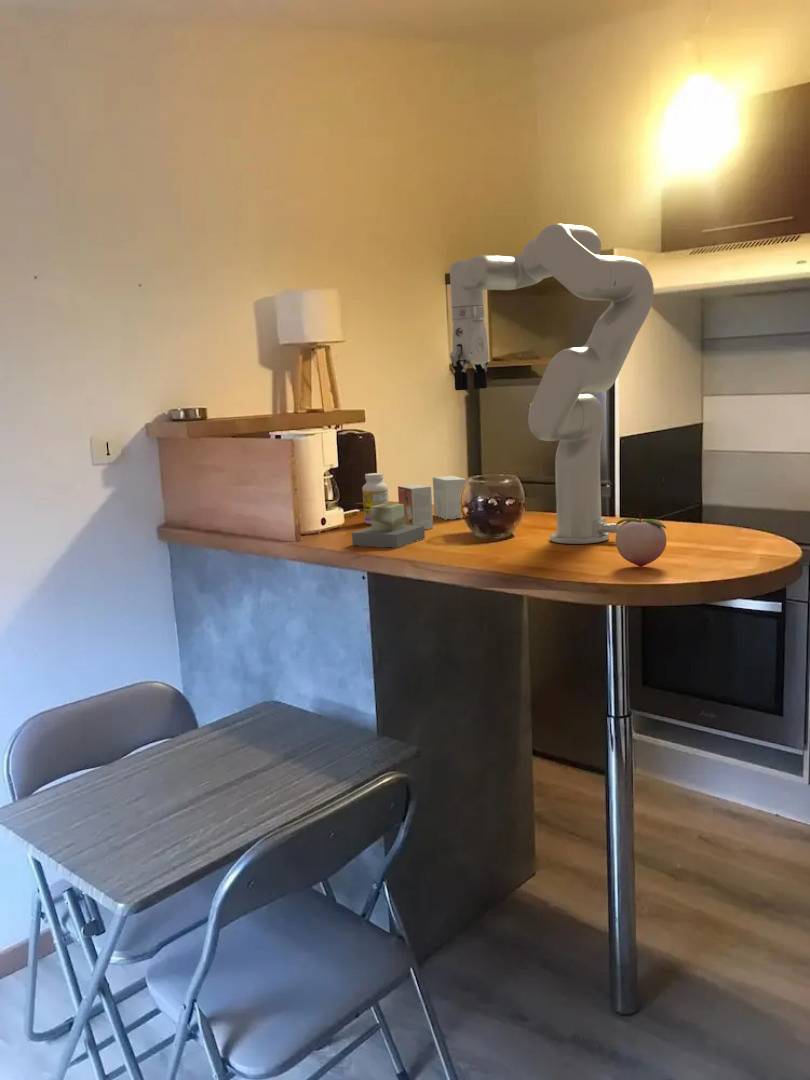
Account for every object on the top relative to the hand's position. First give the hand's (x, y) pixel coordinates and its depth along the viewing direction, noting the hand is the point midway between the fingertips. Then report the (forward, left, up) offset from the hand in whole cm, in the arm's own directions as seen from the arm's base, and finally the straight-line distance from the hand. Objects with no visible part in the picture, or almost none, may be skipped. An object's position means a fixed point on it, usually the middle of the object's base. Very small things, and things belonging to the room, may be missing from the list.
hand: (471, 389), depth 218 cm
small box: (+15, +4, -34) cm, 37 cm away
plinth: (+11, +23, -33) cm, 42 cm away
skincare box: (+15, -14, -34) cm, 39 cm away
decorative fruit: (-51, +34, -34) cm, 70 cm away
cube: (+11, +23, -30) cm, 40 cm away
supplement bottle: (+30, -1, -34) cm, 45 cm away
